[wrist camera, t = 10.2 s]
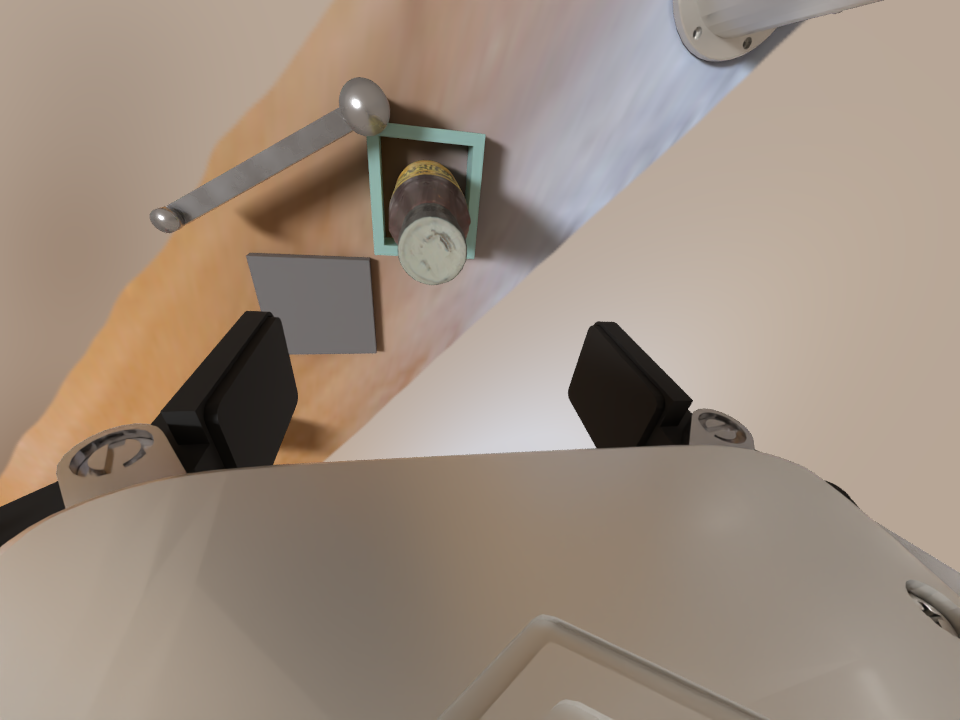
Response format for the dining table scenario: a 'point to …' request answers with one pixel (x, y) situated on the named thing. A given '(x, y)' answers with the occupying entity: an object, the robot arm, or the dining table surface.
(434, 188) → the sauce bottle
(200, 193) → the bar
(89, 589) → the robot arm
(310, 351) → the pad
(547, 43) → the dining table surface
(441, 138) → the teal square frame
